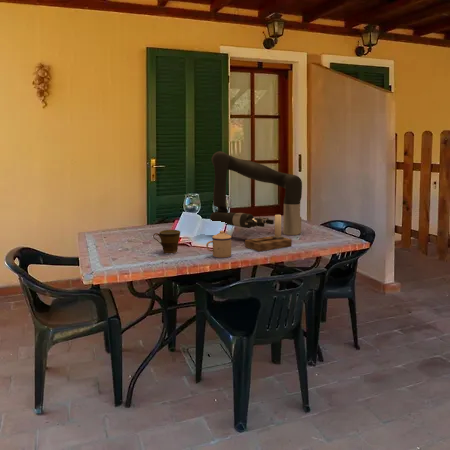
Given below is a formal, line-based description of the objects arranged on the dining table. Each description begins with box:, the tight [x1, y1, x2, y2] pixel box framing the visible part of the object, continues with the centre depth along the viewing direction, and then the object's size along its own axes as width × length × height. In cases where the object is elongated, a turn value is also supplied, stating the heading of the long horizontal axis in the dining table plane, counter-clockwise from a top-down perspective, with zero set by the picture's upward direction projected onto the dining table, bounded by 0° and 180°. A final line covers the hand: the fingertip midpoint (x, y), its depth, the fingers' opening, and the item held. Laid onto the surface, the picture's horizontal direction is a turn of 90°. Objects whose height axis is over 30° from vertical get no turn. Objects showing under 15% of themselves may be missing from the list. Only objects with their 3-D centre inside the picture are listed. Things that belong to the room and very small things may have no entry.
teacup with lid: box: [205, 230, 233, 259], centre depth 214 cm, size 12×9×12 cm
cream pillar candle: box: [271, 214, 285, 239], centre depth 233 cm, size 4×4×14 cm
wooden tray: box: [244, 235, 293, 253], centre depth 232 cm, size 20×12×4 cm, turn 122°
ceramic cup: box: [152, 229, 181, 254], centre depth 222 cm, size 13×10×10 cm
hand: (268, 223), depth 236 cm, fingers open, 8 cm apart
